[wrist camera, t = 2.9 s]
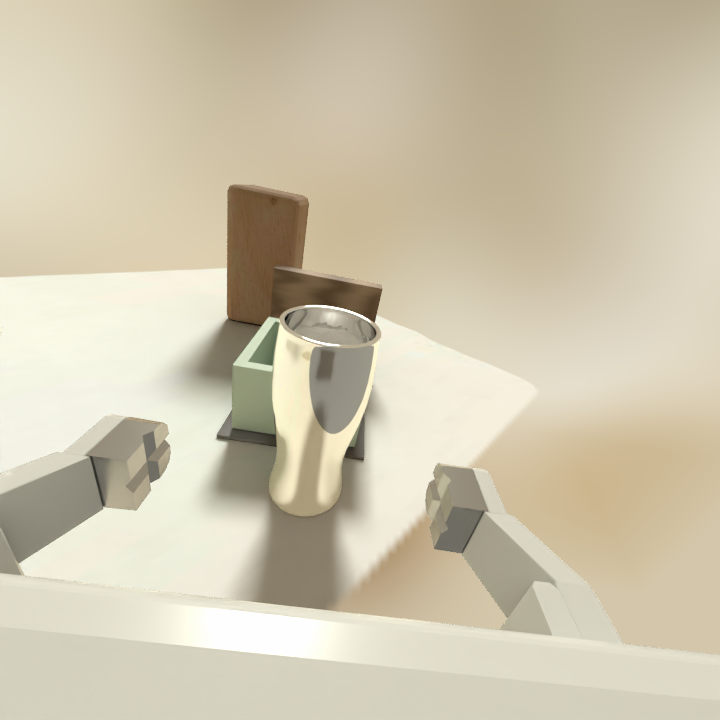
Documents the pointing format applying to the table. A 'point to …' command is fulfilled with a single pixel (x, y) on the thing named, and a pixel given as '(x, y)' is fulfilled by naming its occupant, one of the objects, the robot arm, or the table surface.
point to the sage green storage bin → (257, 383)
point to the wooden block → (261, 246)
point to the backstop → (313, 290)
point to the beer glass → (318, 401)
